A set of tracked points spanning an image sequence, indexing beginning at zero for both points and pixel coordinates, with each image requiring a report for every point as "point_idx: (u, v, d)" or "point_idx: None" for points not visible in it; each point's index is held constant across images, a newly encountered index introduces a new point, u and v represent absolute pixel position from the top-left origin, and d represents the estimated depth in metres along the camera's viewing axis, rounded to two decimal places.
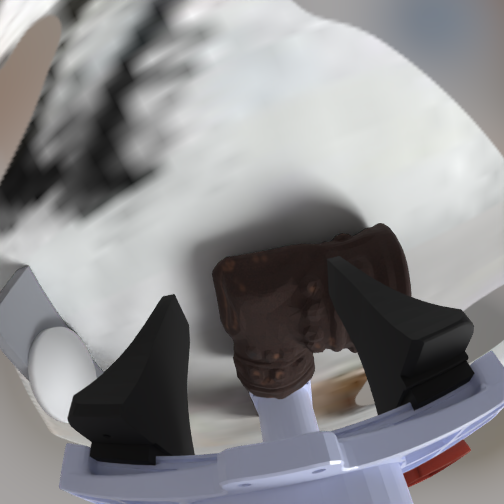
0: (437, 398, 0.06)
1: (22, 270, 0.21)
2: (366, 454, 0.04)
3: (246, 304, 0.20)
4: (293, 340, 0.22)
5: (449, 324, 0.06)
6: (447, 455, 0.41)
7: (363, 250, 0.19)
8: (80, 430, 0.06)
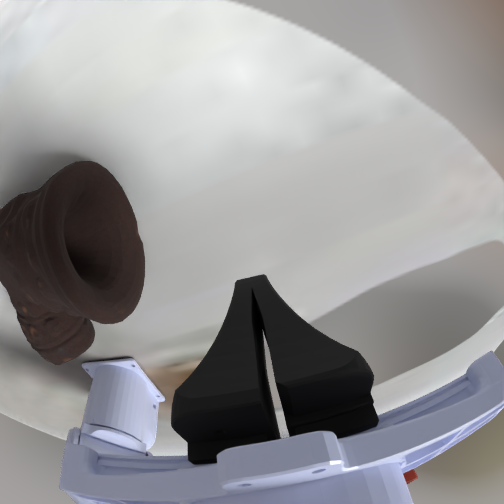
0: None
1: None
2: (366, 454, 0.04)
3: None
4: None
5: (328, 369, 0.06)
6: None
7: None
8: (183, 431, 0.06)
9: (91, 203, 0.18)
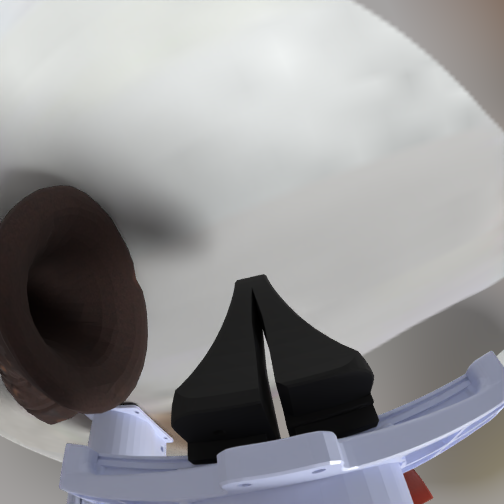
0: None
1: None
2: (366, 454, 0.04)
3: None
4: None
5: (328, 369, 0.06)
6: None
7: None
8: (184, 431, 0.06)
9: (68, 243, 0.12)
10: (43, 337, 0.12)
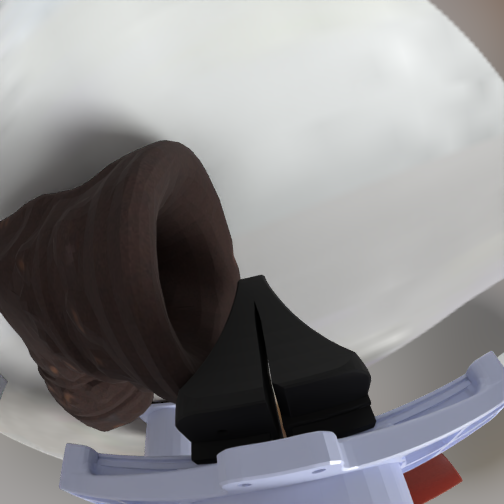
0: None
1: None
2: (366, 454, 0.04)
3: None
4: None
5: (324, 370, 0.06)
6: (432, 488, 0.30)
7: (94, 189, 0.09)
8: (187, 430, 0.06)
9: (174, 213, 0.12)
10: None
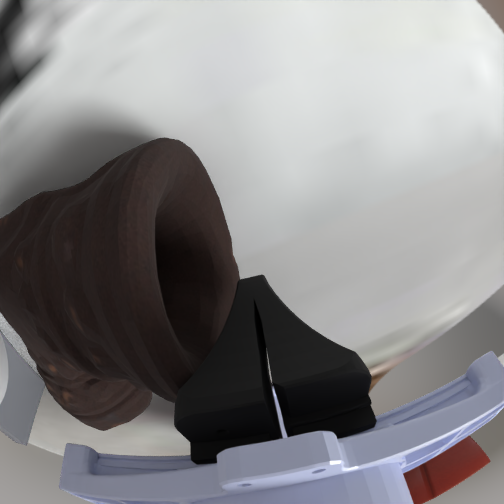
0: None
1: None
2: (366, 454, 0.04)
3: None
4: None
5: (325, 370, 0.06)
6: (464, 469, 0.30)
7: (93, 186, 0.09)
8: (187, 430, 0.06)
9: (173, 211, 0.12)
10: None
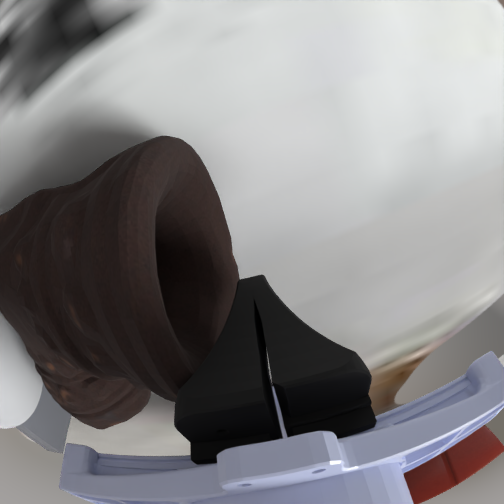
0: None
1: None
2: (366, 454, 0.04)
3: None
4: None
5: (325, 370, 0.06)
6: (483, 457, 0.30)
7: (93, 184, 0.08)
8: (187, 430, 0.06)
9: (173, 209, 0.12)
10: None
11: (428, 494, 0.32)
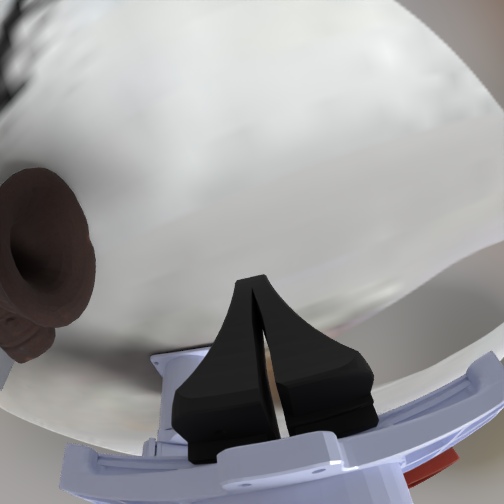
0: None
1: None
2: (366, 454, 0.04)
3: None
4: None
5: (328, 369, 0.06)
6: (430, 464, 0.35)
7: None
8: (184, 431, 0.06)
9: (42, 208, 0.16)
10: None
11: None
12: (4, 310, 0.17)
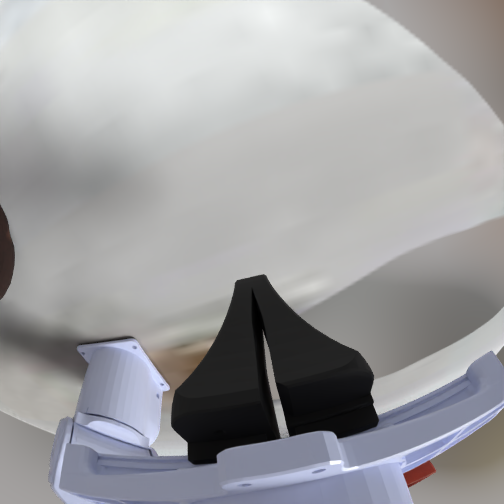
0: None
1: None
2: (366, 454, 0.04)
3: None
4: None
5: (328, 369, 0.06)
6: None
7: None
8: (184, 431, 0.06)
9: None
10: None
11: None
12: None
